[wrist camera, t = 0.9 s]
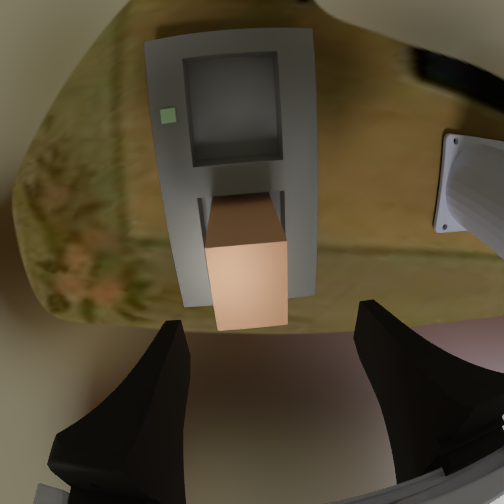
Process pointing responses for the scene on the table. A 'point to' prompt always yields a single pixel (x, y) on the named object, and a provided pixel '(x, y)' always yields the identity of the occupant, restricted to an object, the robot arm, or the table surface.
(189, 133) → the grey slotted tray
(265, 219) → the tan rectangular block
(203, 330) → the table surface
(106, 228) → the table surface
